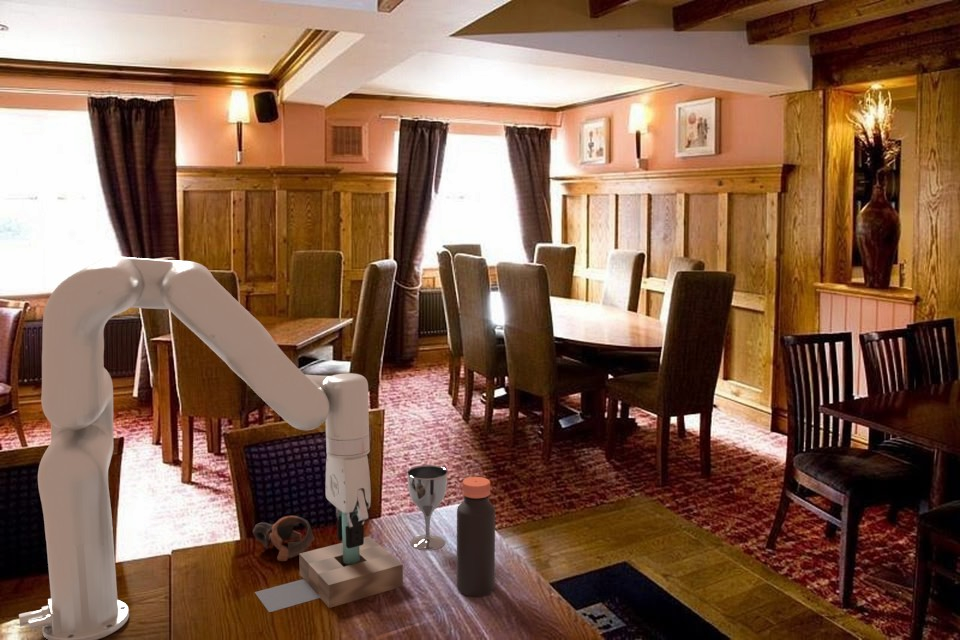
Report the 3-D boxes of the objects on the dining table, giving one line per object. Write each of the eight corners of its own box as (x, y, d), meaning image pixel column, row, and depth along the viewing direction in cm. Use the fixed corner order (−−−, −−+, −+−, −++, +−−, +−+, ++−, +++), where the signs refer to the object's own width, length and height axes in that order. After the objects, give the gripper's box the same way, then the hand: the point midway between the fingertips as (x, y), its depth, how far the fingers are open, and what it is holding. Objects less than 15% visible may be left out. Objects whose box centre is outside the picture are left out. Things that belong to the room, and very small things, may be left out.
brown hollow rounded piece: (314, 541, 160) (320, 515, 155) (303, 580, 152) (309, 554, 148) (256, 528, 159) (260, 502, 154) (241, 567, 151) (245, 540, 146)
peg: (347, 565, 139) (345, 501, 138) (340, 559, 142) (338, 496, 140) (362, 561, 141) (360, 498, 139) (355, 555, 143) (354, 493, 142)
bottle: (490, 599, 136) (491, 490, 133) (452, 595, 138) (452, 486, 134) (497, 581, 143) (498, 476, 140) (461, 577, 144) (461, 473, 141)
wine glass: (454, 539, 160) (455, 469, 158) (432, 554, 153) (431, 481, 151) (423, 531, 164) (423, 462, 162) (400, 544, 157) (399, 473, 155)
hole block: (329, 609, 132) (328, 585, 132) (299, 576, 144) (299, 553, 143) (402, 588, 140) (402, 564, 139) (369, 558, 152) (368, 536, 151)
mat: (269, 614, 131) (269, 612, 131) (254, 594, 137) (254, 592, 137) (325, 598, 136) (325, 596, 136) (308, 579, 143) (308, 577, 143)
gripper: (310, 435, 143) (313, 531, 146) (347, 461, 129) (349, 565, 132) (348, 429, 147) (351, 522, 150) (387, 452, 133) (389, 554, 136)
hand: (350, 541), depth 141 cm, fingers closed on peg, 3 cm apart
